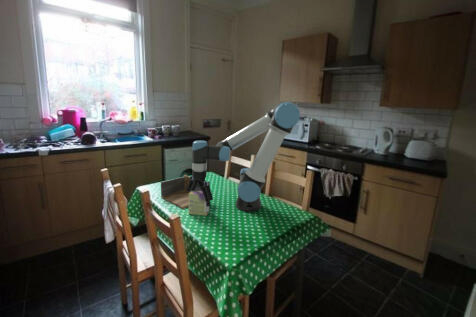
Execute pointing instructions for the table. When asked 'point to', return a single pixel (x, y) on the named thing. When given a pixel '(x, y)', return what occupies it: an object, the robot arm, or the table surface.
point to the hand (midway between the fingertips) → (198, 207)
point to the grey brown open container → (177, 191)
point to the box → (197, 203)
